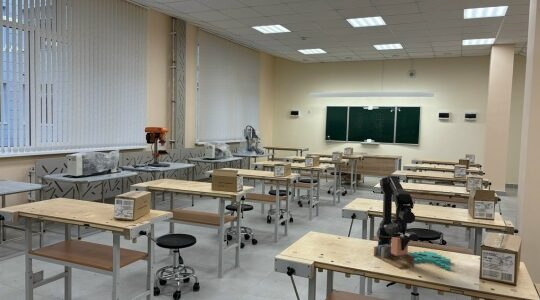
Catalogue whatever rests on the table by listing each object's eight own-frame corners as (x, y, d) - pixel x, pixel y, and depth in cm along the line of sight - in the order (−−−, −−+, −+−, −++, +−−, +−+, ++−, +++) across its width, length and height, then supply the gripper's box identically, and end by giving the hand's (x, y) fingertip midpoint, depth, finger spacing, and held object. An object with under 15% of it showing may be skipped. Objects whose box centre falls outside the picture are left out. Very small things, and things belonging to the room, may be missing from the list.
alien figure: (450, 272, 188) (450, 259, 206) (450, 267, 187) (450, 255, 206) (406, 264, 196) (410, 252, 214) (406, 259, 196) (410, 248, 214)
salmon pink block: (401, 251, 197) (402, 236, 196) (407, 254, 193) (408, 238, 193) (390, 252, 194) (391, 237, 193) (396, 255, 190) (397, 239, 190)
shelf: (387, 254, 209) (387, 242, 208) (413, 266, 191) (414, 253, 191) (373, 255, 205) (374, 243, 204) (399, 268, 188) (400, 255, 187)
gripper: (376, 214, 197) (374, 244, 199) (402, 224, 180) (400, 257, 182) (393, 213, 202) (391, 242, 203) (420, 222, 185) (418, 254, 186)
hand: (399, 249), depth 193 cm, fingers closed on salmon pink block, 4 cm apart
